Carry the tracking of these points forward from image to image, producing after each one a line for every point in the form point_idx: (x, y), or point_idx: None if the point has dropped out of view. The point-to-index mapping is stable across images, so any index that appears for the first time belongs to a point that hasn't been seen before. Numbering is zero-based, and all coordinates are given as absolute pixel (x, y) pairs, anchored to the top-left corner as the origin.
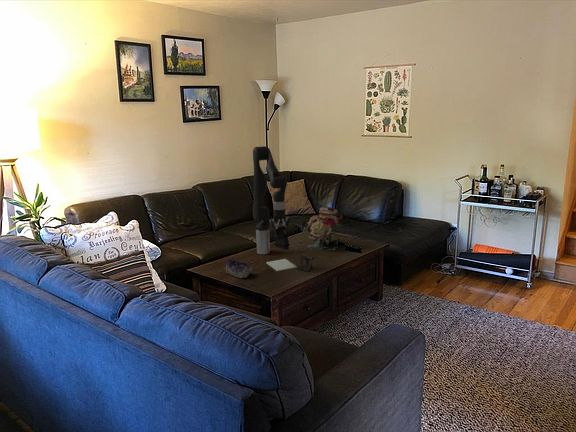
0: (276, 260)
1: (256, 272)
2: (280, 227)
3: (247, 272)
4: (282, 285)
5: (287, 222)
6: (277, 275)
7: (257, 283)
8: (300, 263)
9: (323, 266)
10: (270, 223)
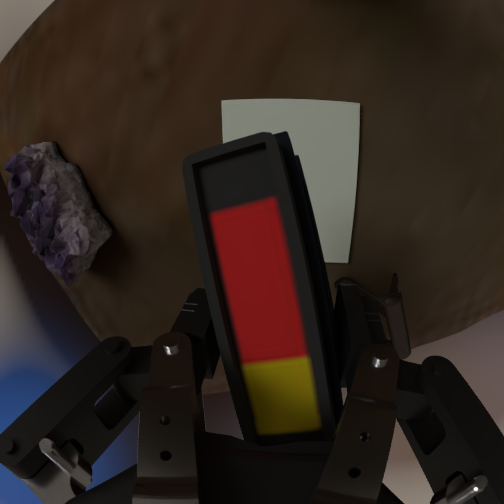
0: (294, 101)
1: (135, 219)
2: (246, 435)
3: (85, 266)
4: None
5: (423, 468)
6: None
7: (125, 322)
8: (359, 292)
9: (443, 305)
10: (45, 407)
